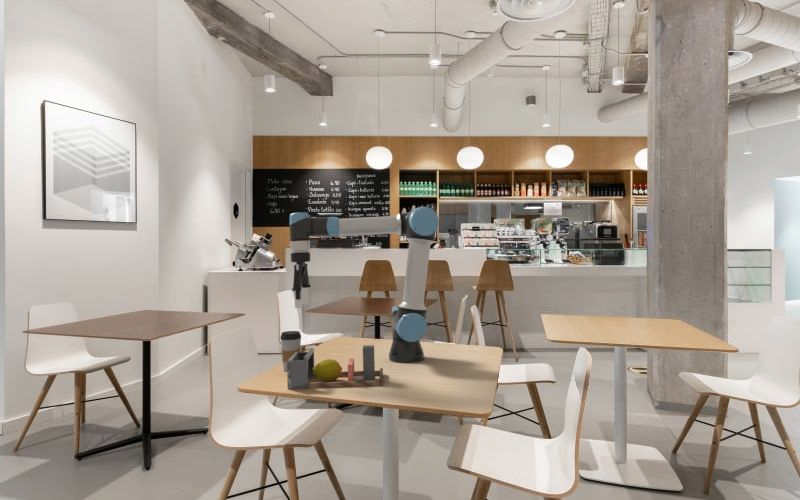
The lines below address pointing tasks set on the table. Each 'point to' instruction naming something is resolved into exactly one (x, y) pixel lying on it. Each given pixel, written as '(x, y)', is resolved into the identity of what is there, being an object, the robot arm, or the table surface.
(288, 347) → the coffee cup
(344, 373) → the lane rails
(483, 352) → the table surface
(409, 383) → the table surface
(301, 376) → the grey open bin
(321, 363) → the lemon
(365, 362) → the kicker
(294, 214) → the robot arm
